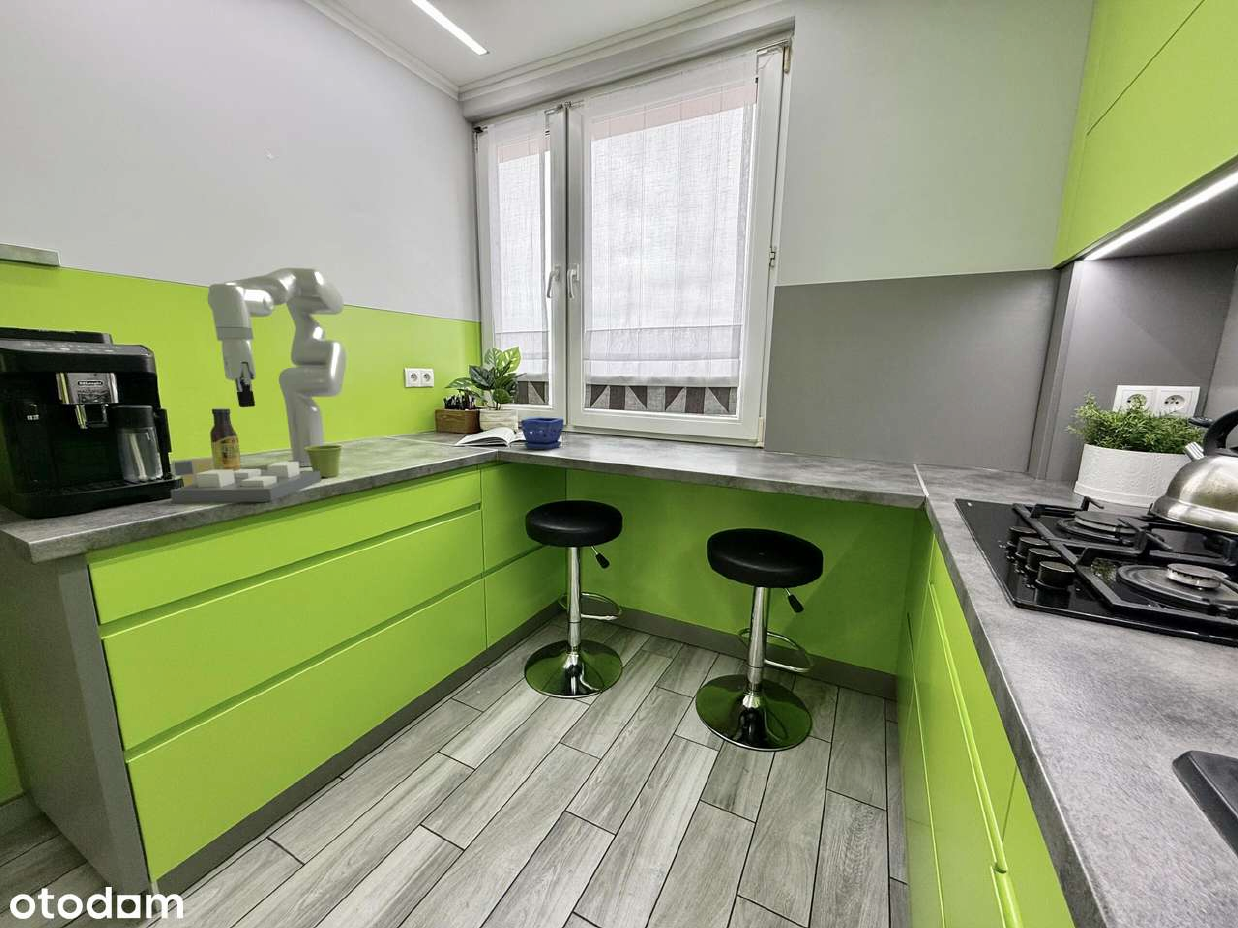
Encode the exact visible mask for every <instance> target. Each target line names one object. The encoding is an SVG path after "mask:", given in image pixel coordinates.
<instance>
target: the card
mask: <svg viewBox="0 0 1238 928" xmlns="http://www.w3.org/2000/svg"><path fill="white" fill-rule="evenodd" d="M170 462H171V467H172V468H171V469H172V475H173V478H174V477H176V476H181V477H182V479H183V481H184V486H189V485H192V484H196V483H197V477H196V474H197V473H201V472H205V471H209V470H214V464H213V458H212V456H211V457H197V458H189V459H187V458H185V459H176V460H171V461H170Z"/></svg>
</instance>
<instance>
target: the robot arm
mask: <svg viewBox="0 0 1238 928" xmlns="http://www.w3.org/2000/svg"><path fill="white" fill-rule="evenodd" d="M207 293H208V294H207V297H206V299H207V300H206V301H207V303H208V306H209V308H210V309H211V311H212V316H213V323H214V327H215V328H214V329H215V334H216V340H217V342H221V351H222V352H221V353H222V360H223V368H224V376H225V378H226V379H227V380H229V381H230V380H231V381H234V384H235V385H234V386H235V390H236V396H237V402H238V403H237V404H238V406H239V407H241V408H248V407H250V408H251V407H255V406H256V402H255V397H254V391H253V383H252V380H253V381H254V380H255V379H256V378H257V375H256V366H255V361H254V355H253V350H252V347H251V342H255V339H254V338H255V337H254V332H253V327H252V325H253V324H252V318H263V317H265V318H266V317H268V316H270V315H272V313H273V312H274V310H275V306H281V305H284V304H285V305H286V307H287V309H288V312H289V314H290V316H291V318H292V320H293V322H294V326H295V330H294V336H293V340H292V346H291V351H290V360H291V362H292V364H293V365H294V366H295V367H294V366H293V367H288V368H285V369H284V370H282V371H281V372H280V373H279V376H278V384H279V386H280V390H281V393H282V396H283V399H284V404H285V410H286V417H287V425H288V426H287V427H288V434H289V441H290V449H291V458H292V459H290V460H288V461H287V462H298V463H299V468H300V467H301V468H302V467H312V465H311V462H310V458H309V455H308V454H307V451H306V450H305V448H307V447H311V446H322V445H326V443H325V435H324V427H323V426H324V425H323V417H322V409H321V408H320V406H319V405H318V404H317V402H316V401H315V400H314V398H332V397H337V396H338V395H339V394H340V393H341V391H342V388H343V383H344V377H345V372H346V371H345V370H346V364H347V354H346V350H345V348H344V346H343V345H342V343H341V342H339V341H337V340H333V339H326V338H325V337H326V330H325V329H324V327H323V326H322V324H321V323H320V322H318V321H317V319H315V318H314V316H313V315H318V316H319V315H321V316H322V315H323V316H325V315H327V316H330V315H331V316H332V315H333V316H336V315H339V314H341V313H342V312H343V310H344V305H345V304H344V300H343V297H342V295H341V292H339V290H338V289H337V288H336V286H334V284H333V283H332V281H330V280H329V278H328V277H327V276H326V275H325V274H323V272H321V271H319V270H318V269H317V268H316V269H315V268H305V267H303V268H301V267H284V268H283V267H282V268H279V269H276V270H274V271H272V272H269V273H267V274H264V275H259V276H252V277H248V278H242V279H237V280H229V281H226V282H222V283H214V284H211V285H210V286H209V287H208V292H207Z"/></svg>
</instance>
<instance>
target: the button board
mask: <svg viewBox="0 0 1238 928" xmlns="http://www.w3.org/2000/svg"><path fill="white" fill-rule="evenodd" d="M299 471H300V474H299V475H296V476H293V477H290V478H276V479H277V482H276V483H273V484H270V485H268V486H265V487H242V482H241V481H242V480H245V479H248V478H234V479H235V483H232V484H229V485H226V486H223V487H198V483H196V484H192V485H189V486H185V487H181V488H178V489H176V488H175V489H174V488H173V489H171V490H169V492H170V496H171V497H170V498H171V501H172V502H171V503H172V504H201V503H202V504H204V503H205V504H206V503H207V504H208V503H209V502H216V503H265V502H267V503H270V502H274V501H276V500H279V499H281V498H283V497H286V496H289V495H292V494H294V493H296V492H298V491H301V490H303V488H304V489H306V488H308V487H310V486H309V485H311V486H313V485H315V484H314V483H316V484H318V483H320V482H319V481H321V482H322V478H321V474H320V471H313V470H299ZM258 476H268V470H265V471H264V470H263V471H262V470H261V475H258ZM317 482H318V483H317ZM312 484H313V485H312ZM307 486H308V487H307ZM305 487H306V488H305Z"/></svg>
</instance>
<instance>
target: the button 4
mask: <svg viewBox="0 0 1238 928" xmlns="http://www.w3.org/2000/svg"><path fill="white" fill-rule="evenodd" d="M266 469H267V471H268V476H276V478H290V477H293V476H296V475H299V474H300V471H301V470H300V467H299V463H298V462H288V461H279V462H275V463H271V464H269V465H267V468H266Z"/></svg>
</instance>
